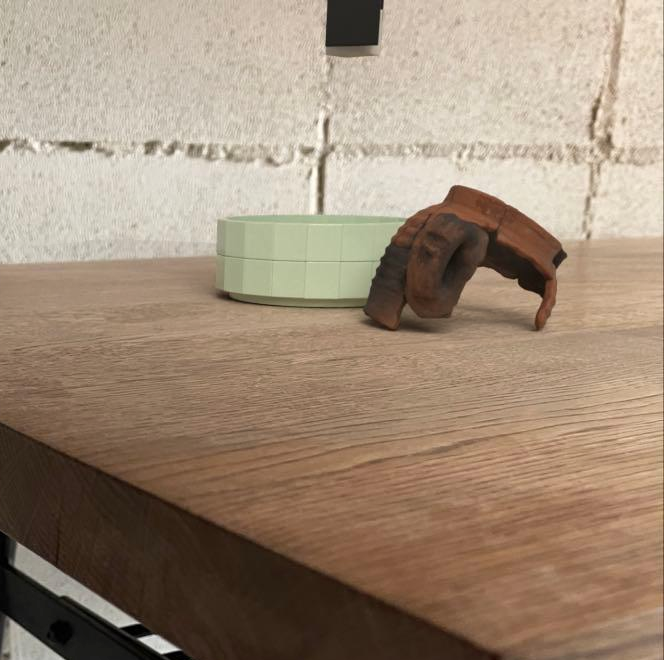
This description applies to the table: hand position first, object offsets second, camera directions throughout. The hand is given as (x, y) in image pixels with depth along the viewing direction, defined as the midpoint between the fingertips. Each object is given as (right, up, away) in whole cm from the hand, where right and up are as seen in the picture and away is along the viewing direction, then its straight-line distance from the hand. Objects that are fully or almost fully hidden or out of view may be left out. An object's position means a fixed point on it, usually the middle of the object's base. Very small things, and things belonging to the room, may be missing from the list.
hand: (353, 47), depth 61 cm
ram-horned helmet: (+5, -15, 0) cm, 16 cm away
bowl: (0, -10, +14) cm, 18 cm away
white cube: (0, -1, 0) cm, 1 cm away
